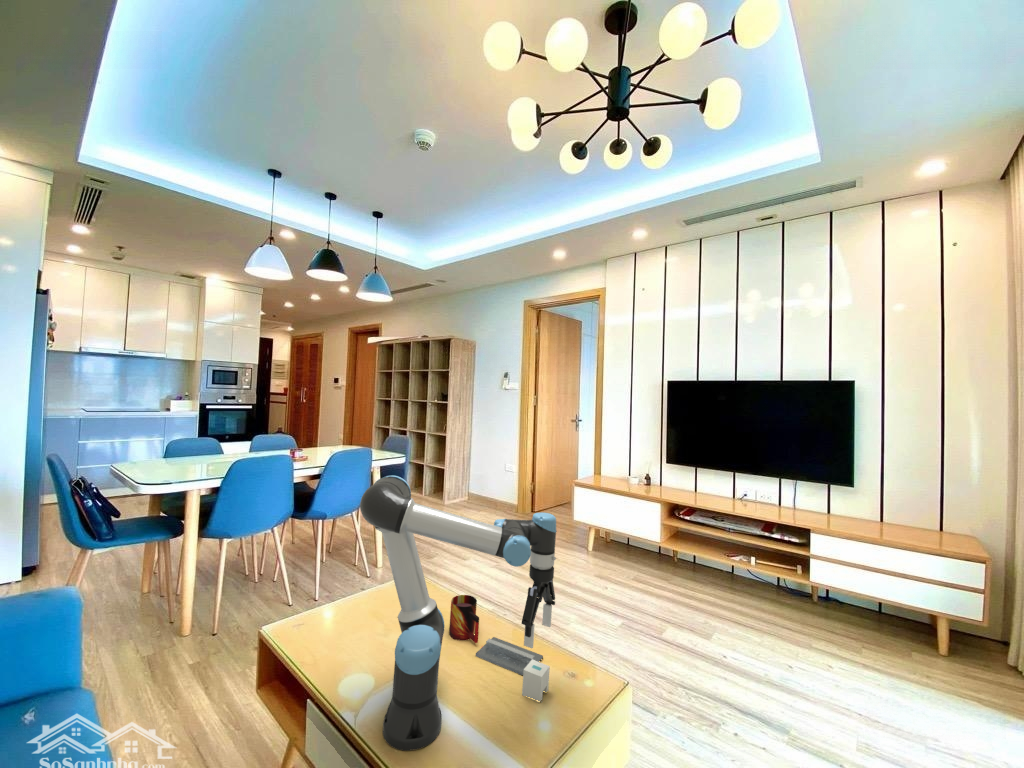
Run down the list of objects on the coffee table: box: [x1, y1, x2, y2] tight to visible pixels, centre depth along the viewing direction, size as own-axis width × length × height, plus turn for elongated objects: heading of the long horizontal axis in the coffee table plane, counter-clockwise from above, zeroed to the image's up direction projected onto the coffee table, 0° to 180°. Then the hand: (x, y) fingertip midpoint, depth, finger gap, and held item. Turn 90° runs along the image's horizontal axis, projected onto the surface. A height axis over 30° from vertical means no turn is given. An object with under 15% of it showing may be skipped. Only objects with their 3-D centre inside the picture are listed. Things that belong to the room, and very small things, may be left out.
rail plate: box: [475, 636, 544, 676], centre depth 141 cm, size 12×20×3 cm, turn 62°
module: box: [521, 659, 550, 702], centre depth 125 cm, size 6×6×8 cm
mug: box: [448, 594, 480, 644], centre depth 154 cm, size 10×14×12 cm
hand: (537, 635), depth 126 cm, fingers open, 13 cm apart
